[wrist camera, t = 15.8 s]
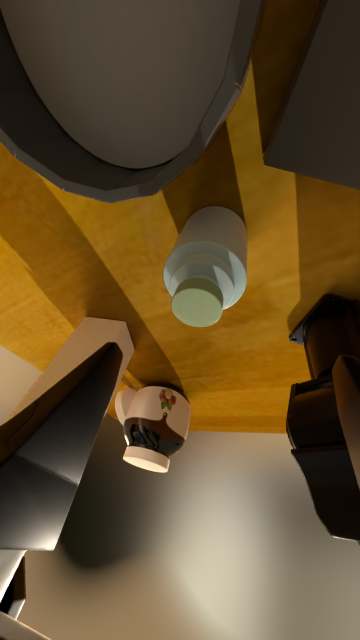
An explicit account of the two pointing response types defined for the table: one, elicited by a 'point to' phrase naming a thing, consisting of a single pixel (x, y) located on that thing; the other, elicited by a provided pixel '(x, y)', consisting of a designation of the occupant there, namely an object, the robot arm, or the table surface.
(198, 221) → the bottle
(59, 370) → the milk
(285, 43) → the table surface
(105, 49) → the bottle warmer
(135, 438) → the spread jar
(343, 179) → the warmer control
